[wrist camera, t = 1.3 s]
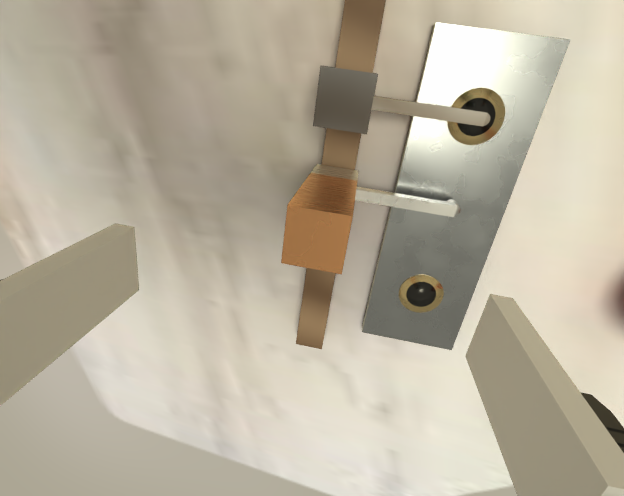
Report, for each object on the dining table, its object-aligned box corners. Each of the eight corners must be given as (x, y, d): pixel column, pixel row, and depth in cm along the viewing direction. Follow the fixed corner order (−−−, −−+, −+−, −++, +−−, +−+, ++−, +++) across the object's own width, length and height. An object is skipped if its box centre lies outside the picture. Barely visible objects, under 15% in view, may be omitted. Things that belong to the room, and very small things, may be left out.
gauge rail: (346, -25, 22) (337, -70, 16) (515, -4, 22) (576, -44, 15) (296, 329, 34) (280, 384, 28) (404, 351, 33) (412, 412, 27)
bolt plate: (433, 24, 23) (436, 22, 22) (562, 41, 22) (571, 39, 21) (362, 325, 33) (361, 332, 32) (449, 342, 32) (451, 350, 31)
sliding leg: (318, 161, 26) (287, 204, 16) (462, 185, 25) (522, 246, 15) (313, 200, 27) (281, 262, 17) (449, 224, 26) (497, 303, 17)
